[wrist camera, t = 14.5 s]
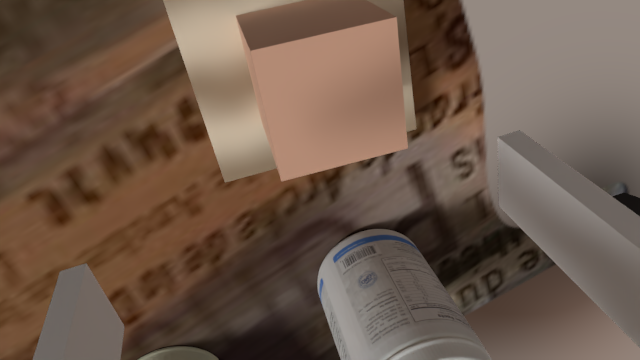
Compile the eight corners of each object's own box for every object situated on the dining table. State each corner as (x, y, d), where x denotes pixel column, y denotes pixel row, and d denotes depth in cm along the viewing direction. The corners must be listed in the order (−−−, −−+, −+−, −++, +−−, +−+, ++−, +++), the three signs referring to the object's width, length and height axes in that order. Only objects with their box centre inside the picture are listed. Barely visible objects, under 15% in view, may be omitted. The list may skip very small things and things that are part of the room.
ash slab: (155, -38, 30) (152, -32, 27) (377, -90, 31) (394, -89, 29) (222, 163, 37) (224, 182, 35) (401, 113, 39) (416, 129, 36)
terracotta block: (262, 123, 33) (281, 181, 26) (235, 15, 30) (250, 50, 23) (363, 98, 34) (407, 148, 27) (349, -10, 30) (396, 16, 24)
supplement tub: (389, 316, 48) (459, 464, 36) (298, 301, 45) (340, 459, 32) (436, 235, 44) (533, 367, 32) (341, 211, 41) (408, 350, 28)
